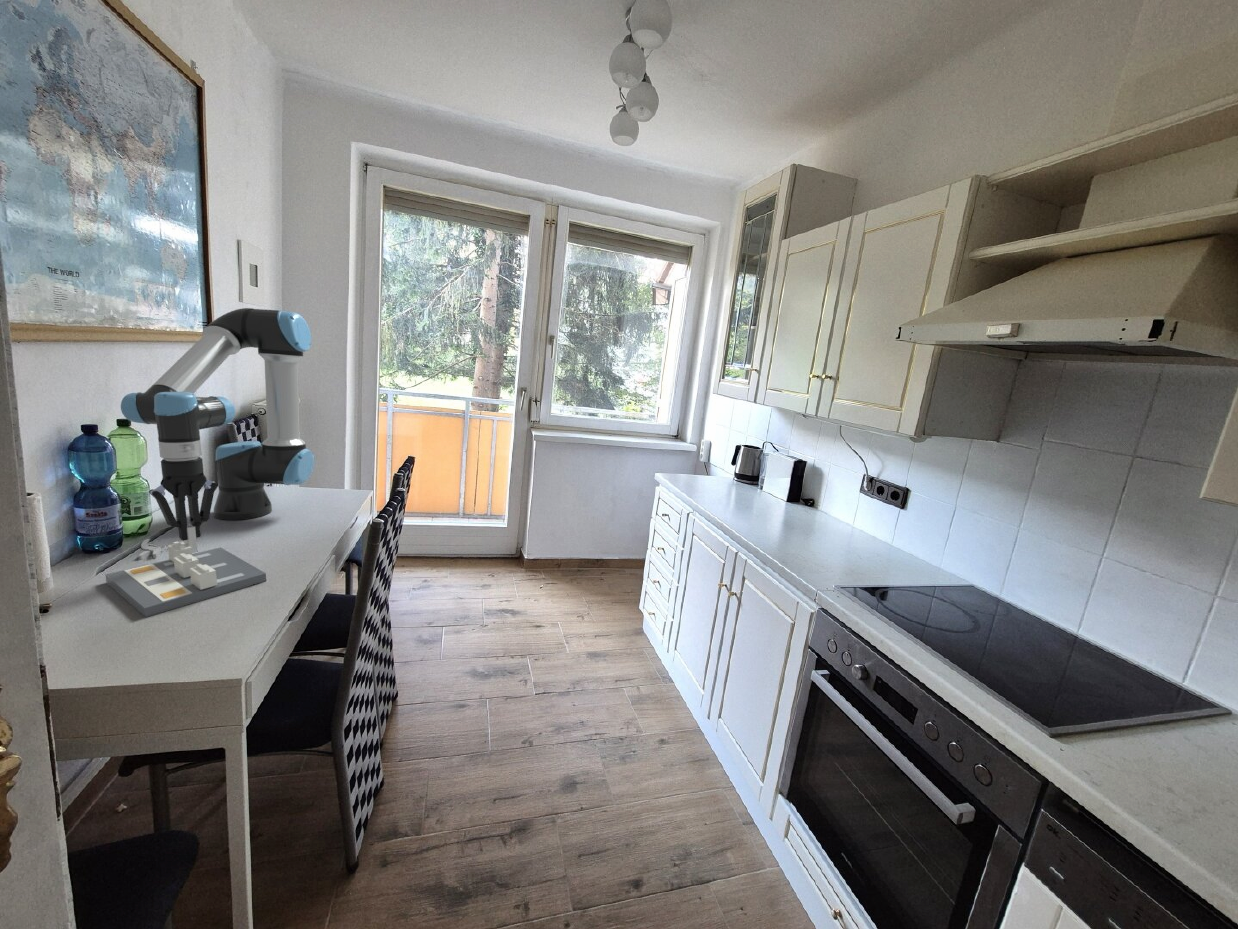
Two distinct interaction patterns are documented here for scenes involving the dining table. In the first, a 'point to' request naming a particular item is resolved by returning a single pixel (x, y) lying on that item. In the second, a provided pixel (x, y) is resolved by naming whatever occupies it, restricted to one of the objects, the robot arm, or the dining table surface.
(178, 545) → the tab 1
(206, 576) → the white plastic block
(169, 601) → the switch bank
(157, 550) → the pliers
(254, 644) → the dining table surface
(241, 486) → the robot arm
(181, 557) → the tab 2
